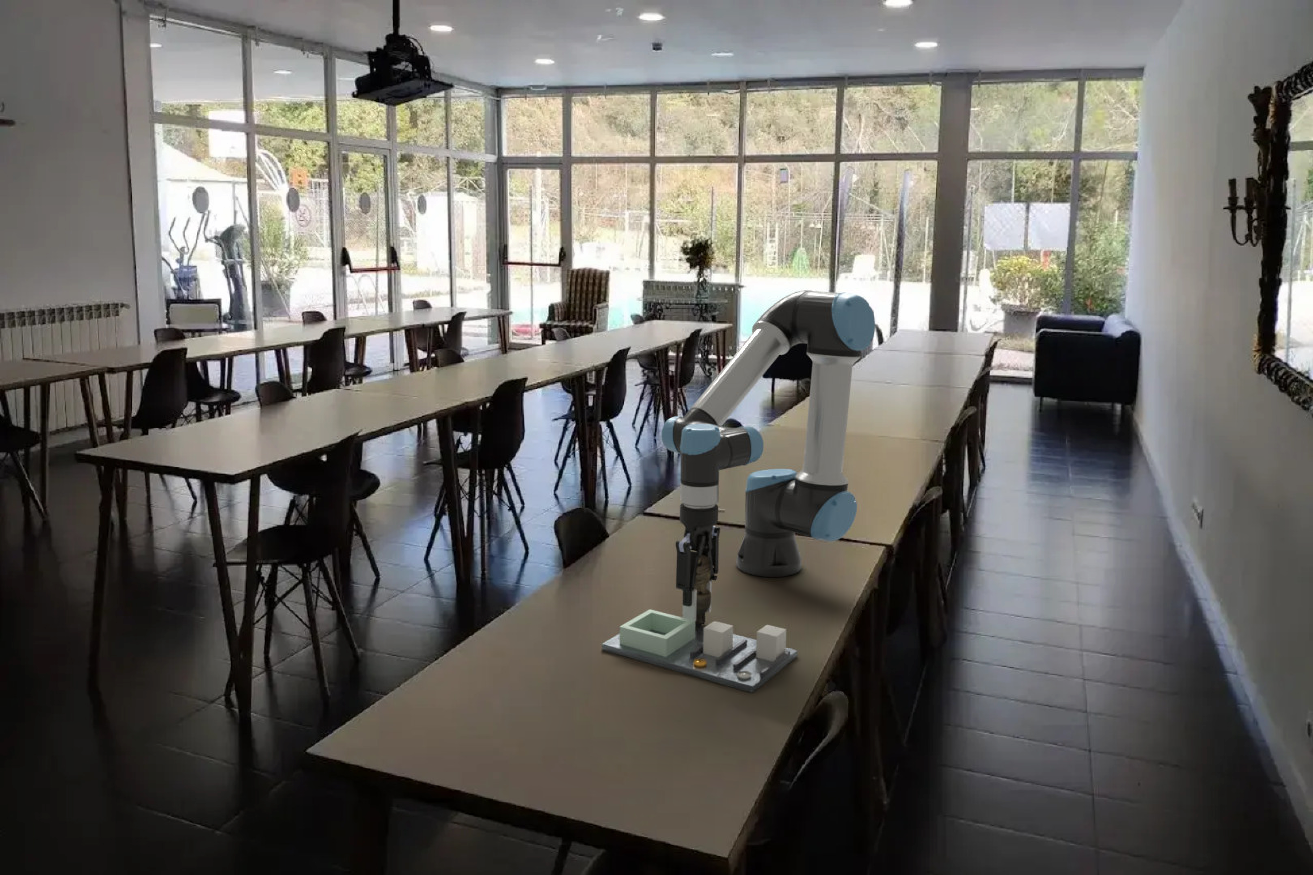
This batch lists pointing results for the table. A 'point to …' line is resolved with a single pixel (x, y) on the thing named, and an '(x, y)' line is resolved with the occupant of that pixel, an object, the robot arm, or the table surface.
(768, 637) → the block
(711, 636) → the block
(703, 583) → the light bulb
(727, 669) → the panel
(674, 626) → the socket
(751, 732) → the table surface
